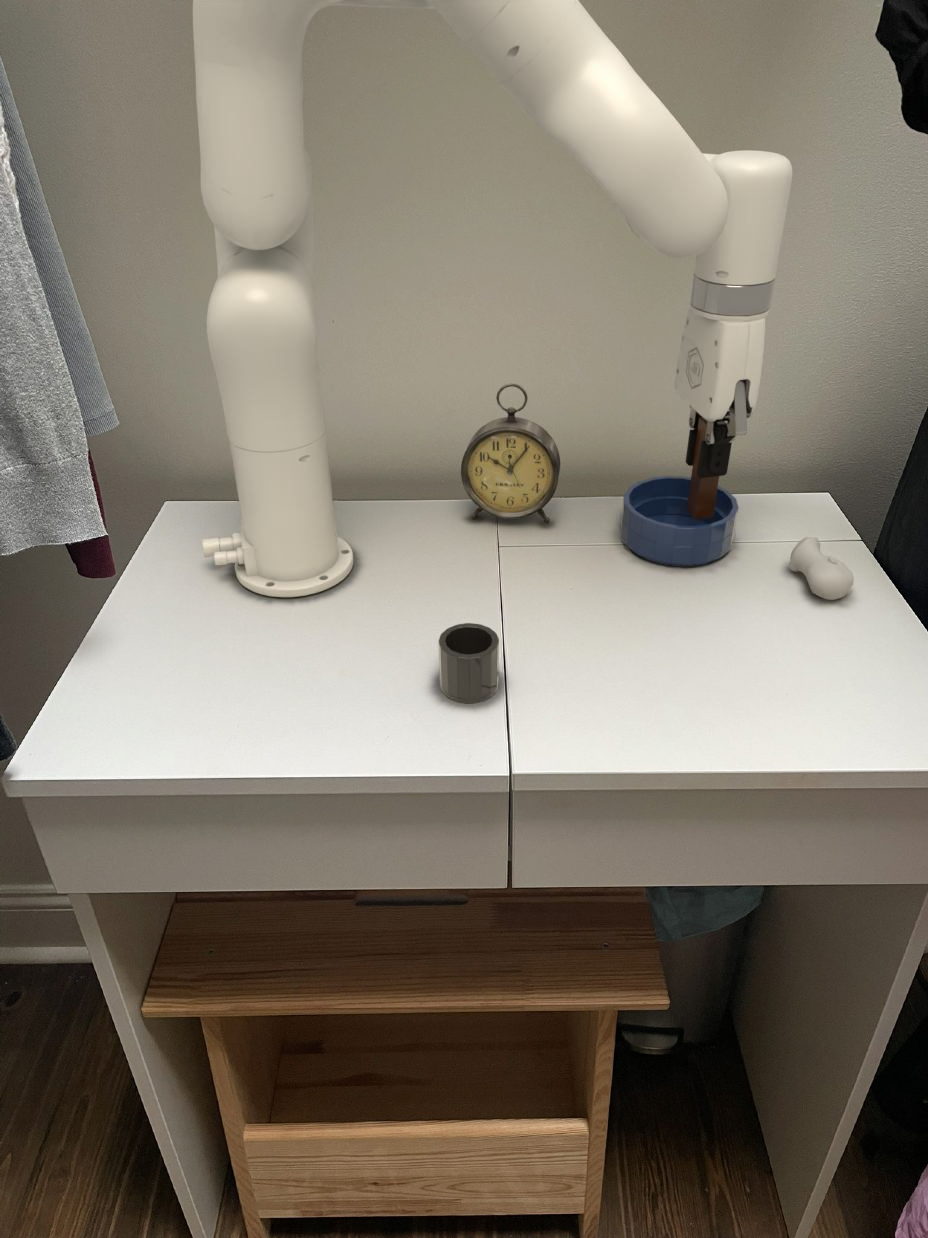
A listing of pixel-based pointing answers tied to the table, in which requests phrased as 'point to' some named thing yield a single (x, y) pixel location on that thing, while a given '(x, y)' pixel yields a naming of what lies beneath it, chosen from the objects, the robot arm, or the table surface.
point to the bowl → (675, 523)
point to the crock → (469, 662)
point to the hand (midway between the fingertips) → (705, 468)
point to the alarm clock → (511, 466)
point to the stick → (702, 482)
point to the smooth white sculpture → (821, 570)
